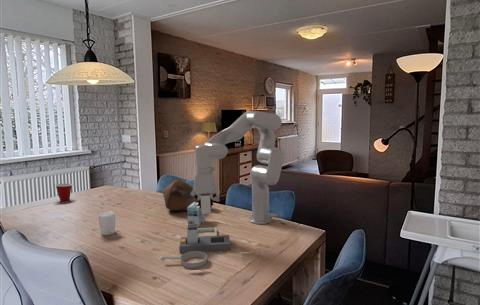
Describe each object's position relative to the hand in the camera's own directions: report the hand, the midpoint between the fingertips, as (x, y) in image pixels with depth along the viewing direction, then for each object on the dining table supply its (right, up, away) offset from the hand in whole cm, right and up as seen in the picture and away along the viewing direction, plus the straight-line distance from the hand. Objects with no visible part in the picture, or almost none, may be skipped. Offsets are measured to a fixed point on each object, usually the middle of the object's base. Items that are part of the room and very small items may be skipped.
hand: (205, 206), depth 152 cm
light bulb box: (-7, -13, +21) cm, 26 cm away
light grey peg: (-4, -16, -13) cm, 21 cm away
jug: (-17, -10, +45) cm, 49 cm away
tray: (0, -15, +1) cm, 15 cm away
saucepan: (-5, -19, -27) cm, 33 cm away
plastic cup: (-108, -8, +70) cm, 129 cm away
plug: (0, -3, 0) cm, 3 cm away
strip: (+1, -17, -12) cm, 21 cm away
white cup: (-51, -15, +8) cm, 54 cm away
